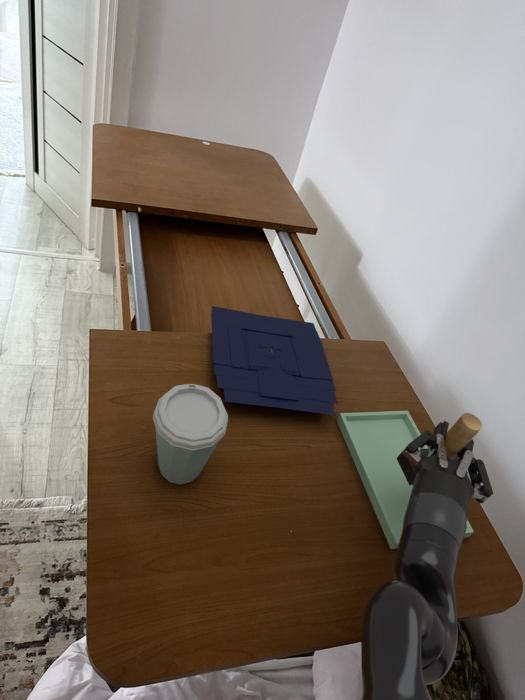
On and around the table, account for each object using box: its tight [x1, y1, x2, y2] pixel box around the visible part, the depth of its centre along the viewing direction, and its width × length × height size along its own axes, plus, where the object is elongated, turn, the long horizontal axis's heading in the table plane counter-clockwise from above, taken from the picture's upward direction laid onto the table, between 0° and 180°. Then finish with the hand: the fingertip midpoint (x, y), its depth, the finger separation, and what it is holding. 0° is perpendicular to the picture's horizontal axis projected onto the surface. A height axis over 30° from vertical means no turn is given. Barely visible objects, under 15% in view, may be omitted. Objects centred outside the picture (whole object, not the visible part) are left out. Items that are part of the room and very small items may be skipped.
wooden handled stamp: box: [396, 412, 483, 486], centre depth 78 cm, size 5×10×13 cm, turn 104°
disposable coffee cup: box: [152, 383, 229, 486], centre depth 75 cm, size 11×11×15 cm
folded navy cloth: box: [210, 305, 338, 416], centre depth 102 cm, size 24×30×4 cm
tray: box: [335, 410, 475, 550], centre depth 91 cm, size 26×16×2 cm, turn 15°
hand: (455, 431), depth 79 cm, fingers closed on wooden handled stamp, 3 cm apart
